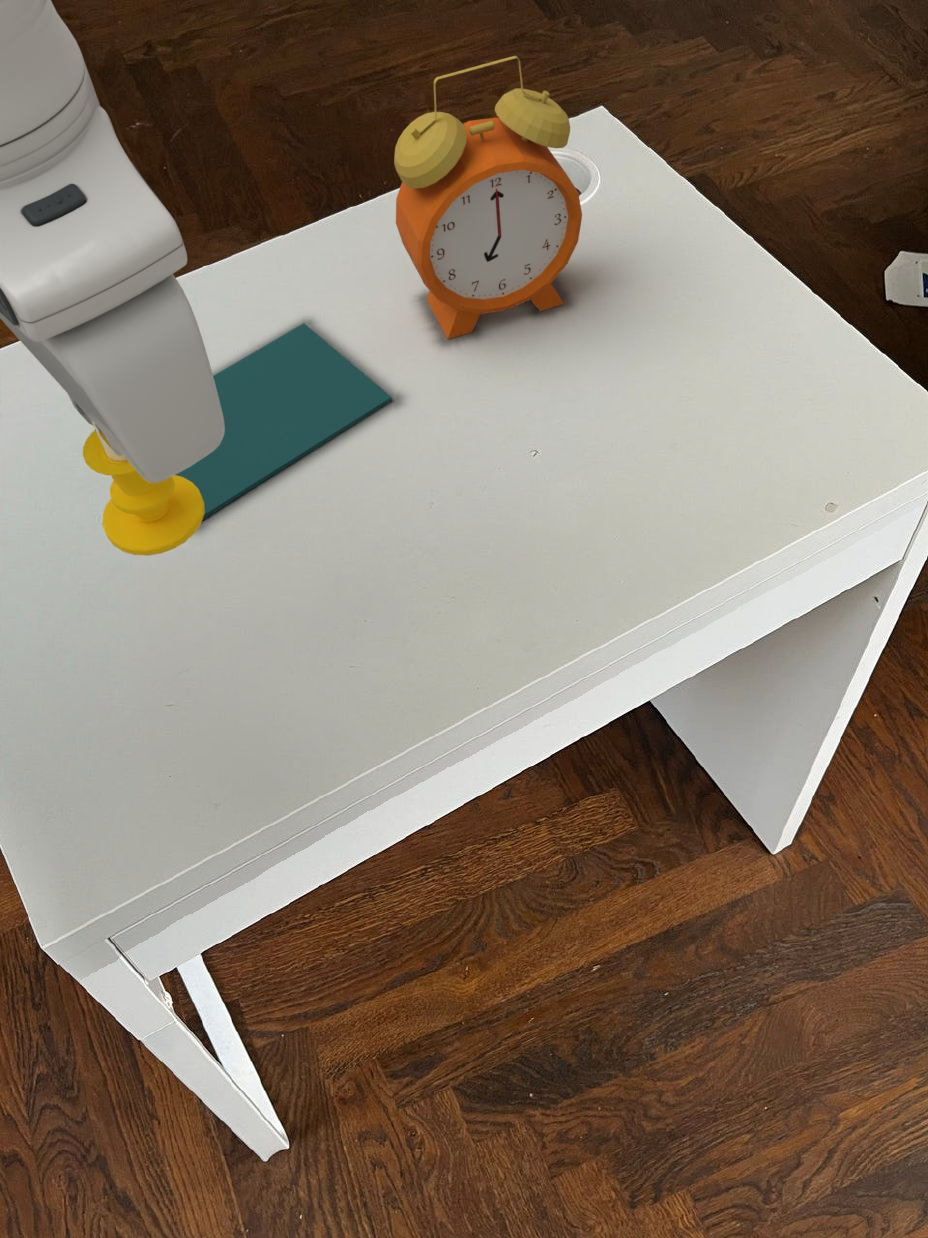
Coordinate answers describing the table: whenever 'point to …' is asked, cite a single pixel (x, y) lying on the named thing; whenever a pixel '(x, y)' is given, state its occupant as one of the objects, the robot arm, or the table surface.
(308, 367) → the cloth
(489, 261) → the alarm clock
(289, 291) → the table surface
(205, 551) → the table surface
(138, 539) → the candle
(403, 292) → the table surface
